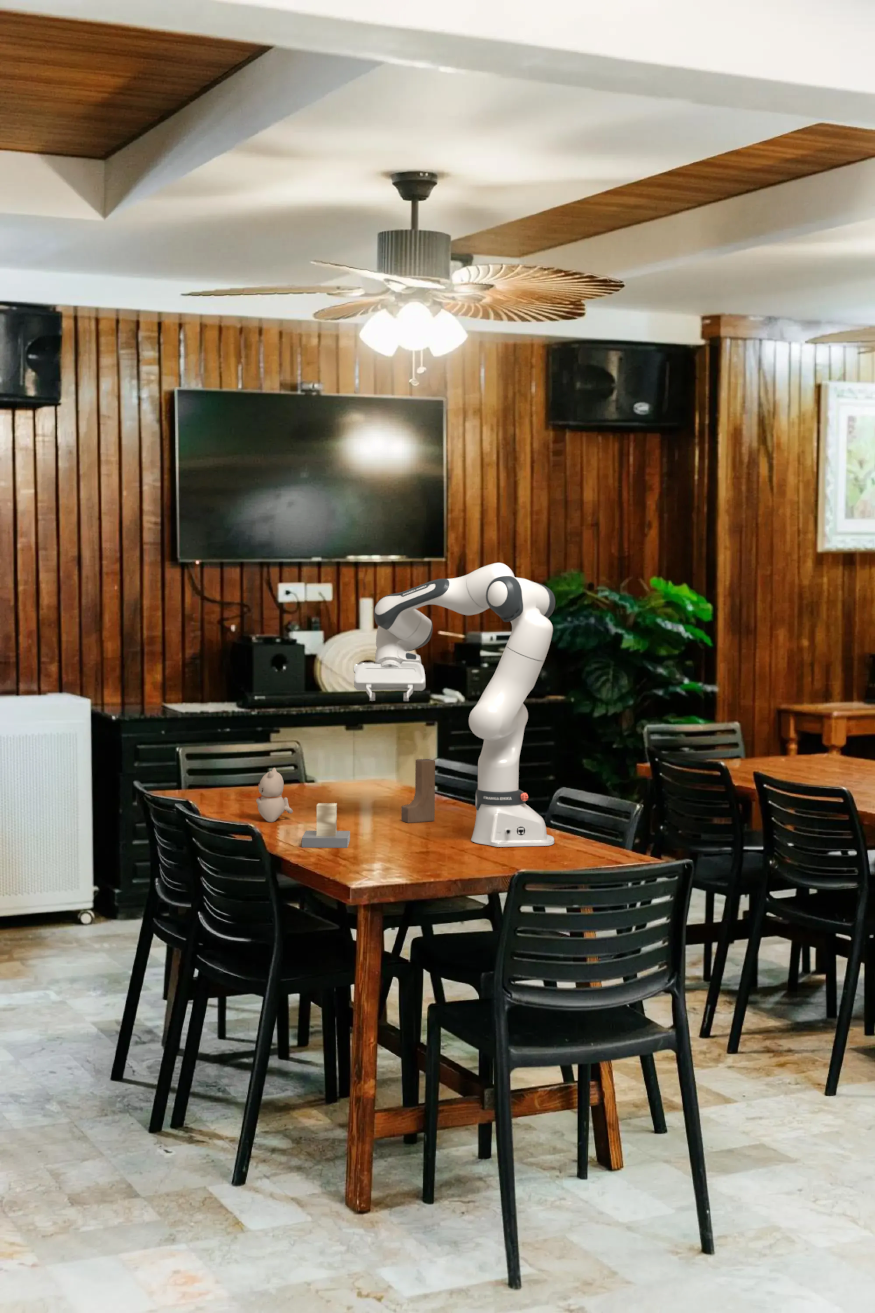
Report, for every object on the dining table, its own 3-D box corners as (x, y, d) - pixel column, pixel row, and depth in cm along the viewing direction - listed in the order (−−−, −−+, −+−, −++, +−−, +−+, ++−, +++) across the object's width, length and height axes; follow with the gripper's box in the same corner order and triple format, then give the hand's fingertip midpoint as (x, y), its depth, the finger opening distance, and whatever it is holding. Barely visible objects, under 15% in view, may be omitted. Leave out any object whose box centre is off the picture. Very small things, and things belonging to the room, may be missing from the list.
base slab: (350, 840, 416) (350, 831, 415) (347, 847, 404) (347, 838, 403) (305, 839, 416) (305, 830, 415) (301, 847, 404) (301, 838, 403)
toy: (260, 816, 456) (260, 766, 455) (295, 817, 455) (295, 766, 455) (253, 822, 444) (253, 771, 443) (289, 823, 443) (290, 771, 442)
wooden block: (407, 823, 445) (408, 761, 445) (400, 821, 449) (401, 760, 449) (435, 821, 450) (435, 760, 449) (428, 819, 454) (428, 758, 453)
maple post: (336, 833, 412) (336, 803, 412) (335, 836, 407) (335, 806, 407) (317, 832, 412) (318, 803, 412) (316, 835, 407) (316, 805, 407)
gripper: (353, 654, 435) (351, 691, 426) (425, 655, 435) (425, 692, 426) (354, 669, 440) (352, 706, 430) (425, 670, 440) (425, 707, 430)
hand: (389, 699), depth 428 cm, fingers open, 8 cm apart
